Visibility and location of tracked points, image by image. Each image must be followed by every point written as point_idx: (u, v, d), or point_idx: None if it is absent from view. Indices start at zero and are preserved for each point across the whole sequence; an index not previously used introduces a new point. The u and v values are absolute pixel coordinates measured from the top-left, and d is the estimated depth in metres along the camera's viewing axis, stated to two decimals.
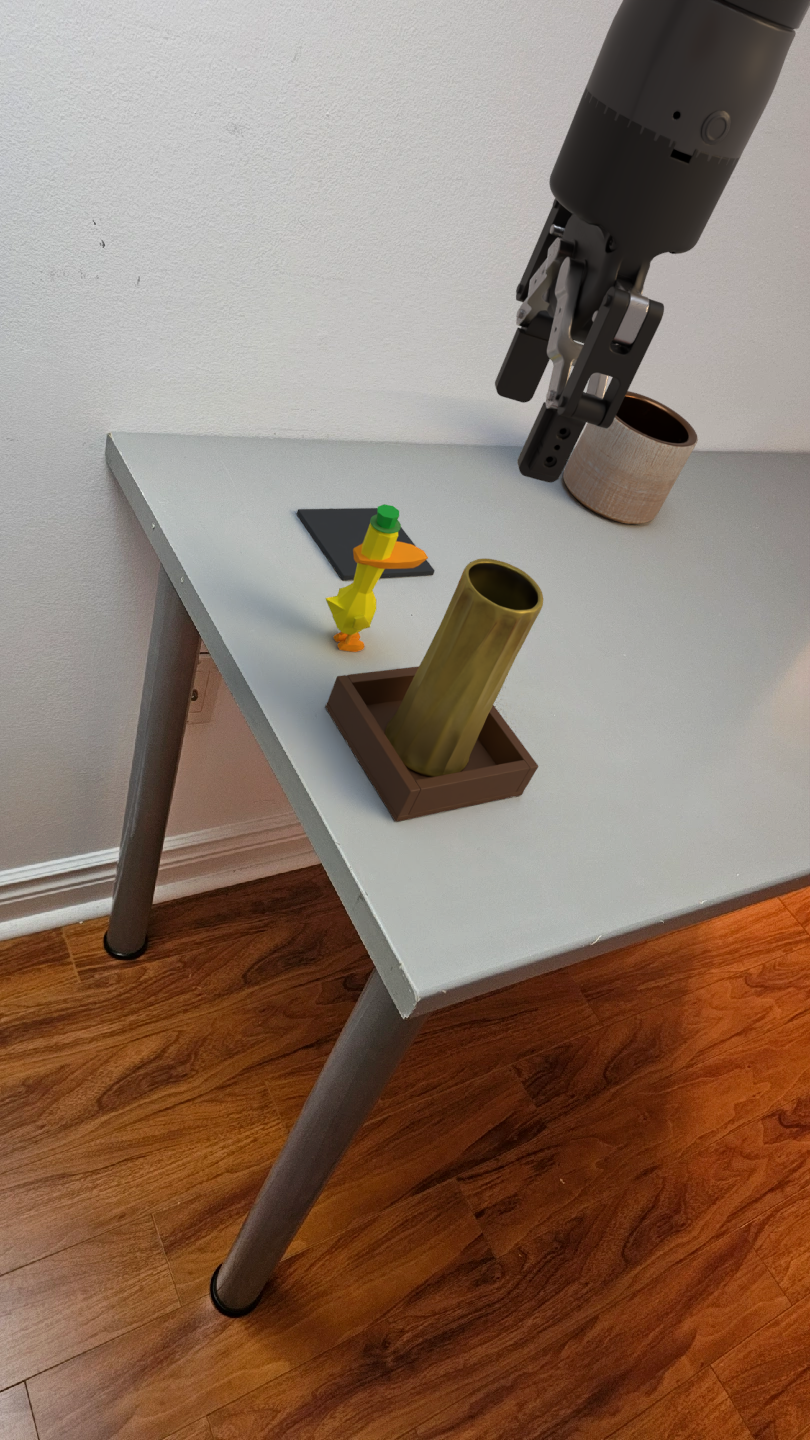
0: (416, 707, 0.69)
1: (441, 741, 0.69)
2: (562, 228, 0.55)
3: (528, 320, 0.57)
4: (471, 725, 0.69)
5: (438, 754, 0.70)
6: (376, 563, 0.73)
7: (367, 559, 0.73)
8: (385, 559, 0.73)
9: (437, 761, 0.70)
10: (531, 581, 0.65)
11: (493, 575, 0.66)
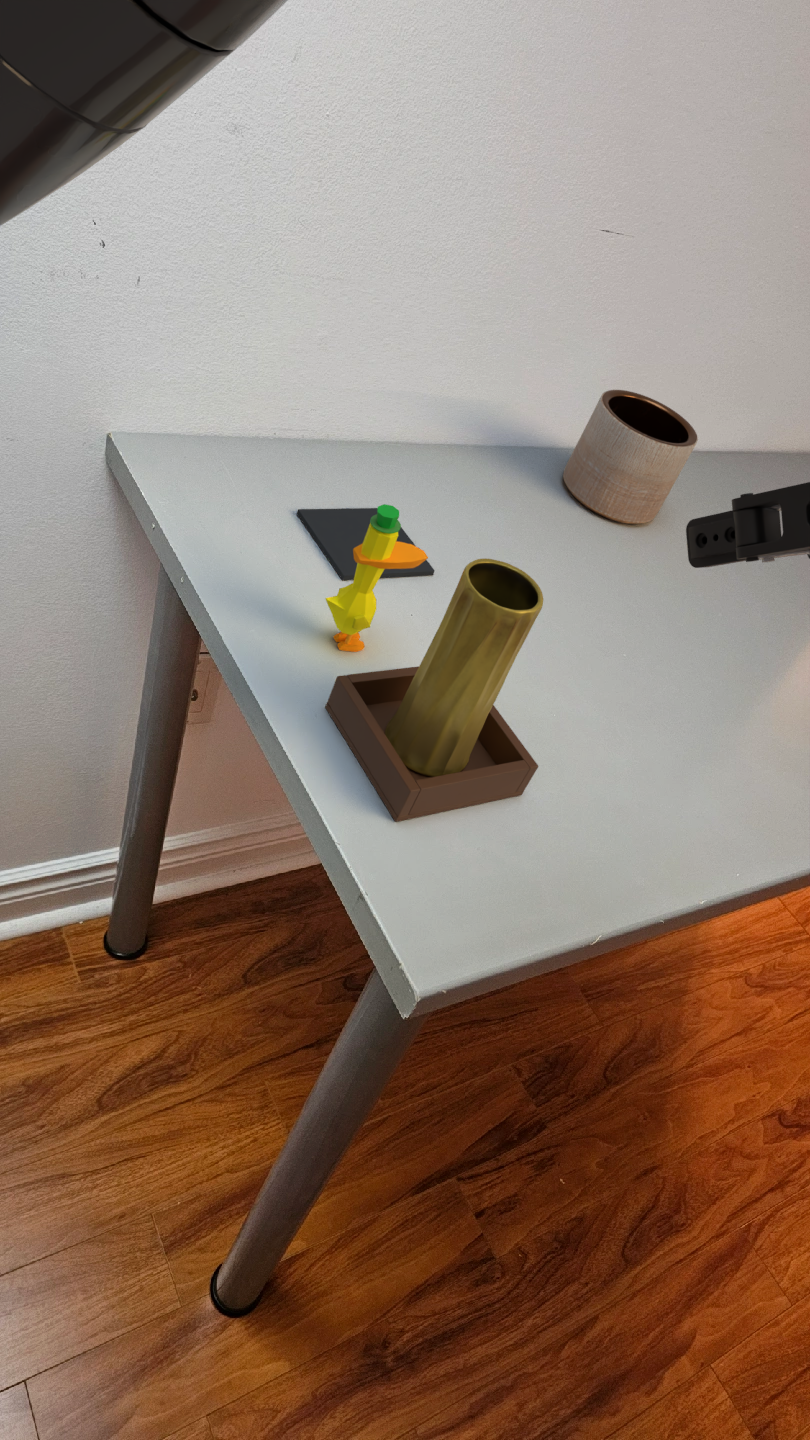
0: (416, 707, 0.69)
1: (441, 741, 0.69)
2: None
3: None
4: (471, 725, 0.69)
5: (438, 754, 0.70)
6: (376, 563, 0.73)
7: (367, 559, 0.73)
8: (385, 559, 0.73)
9: (437, 761, 0.70)
10: (531, 581, 0.65)
11: (493, 575, 0.66)
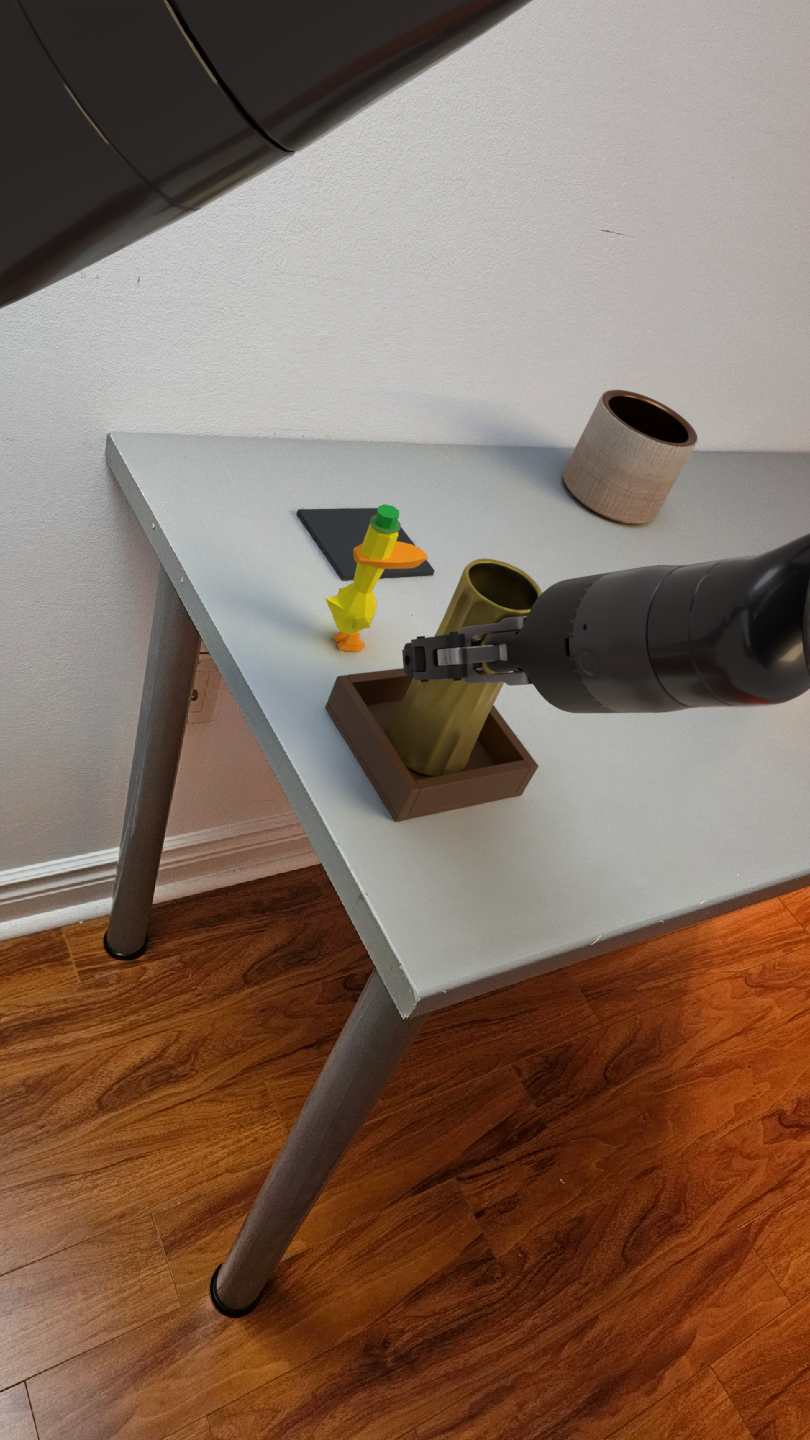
0: (416, 707, 0.69)
1: (441, 741, 0.69)
2: None
3: None
4: (471, 725, 0.69)
5: (438, 754, 0.70)
6: (376, 563, 0.73)
7: (367, 559, 0.73)
8: (385, 559, 0.73)
9: (437, 761, 0.70)
10: (531, 581, 0.65)
11: (493, 575, 0.66)
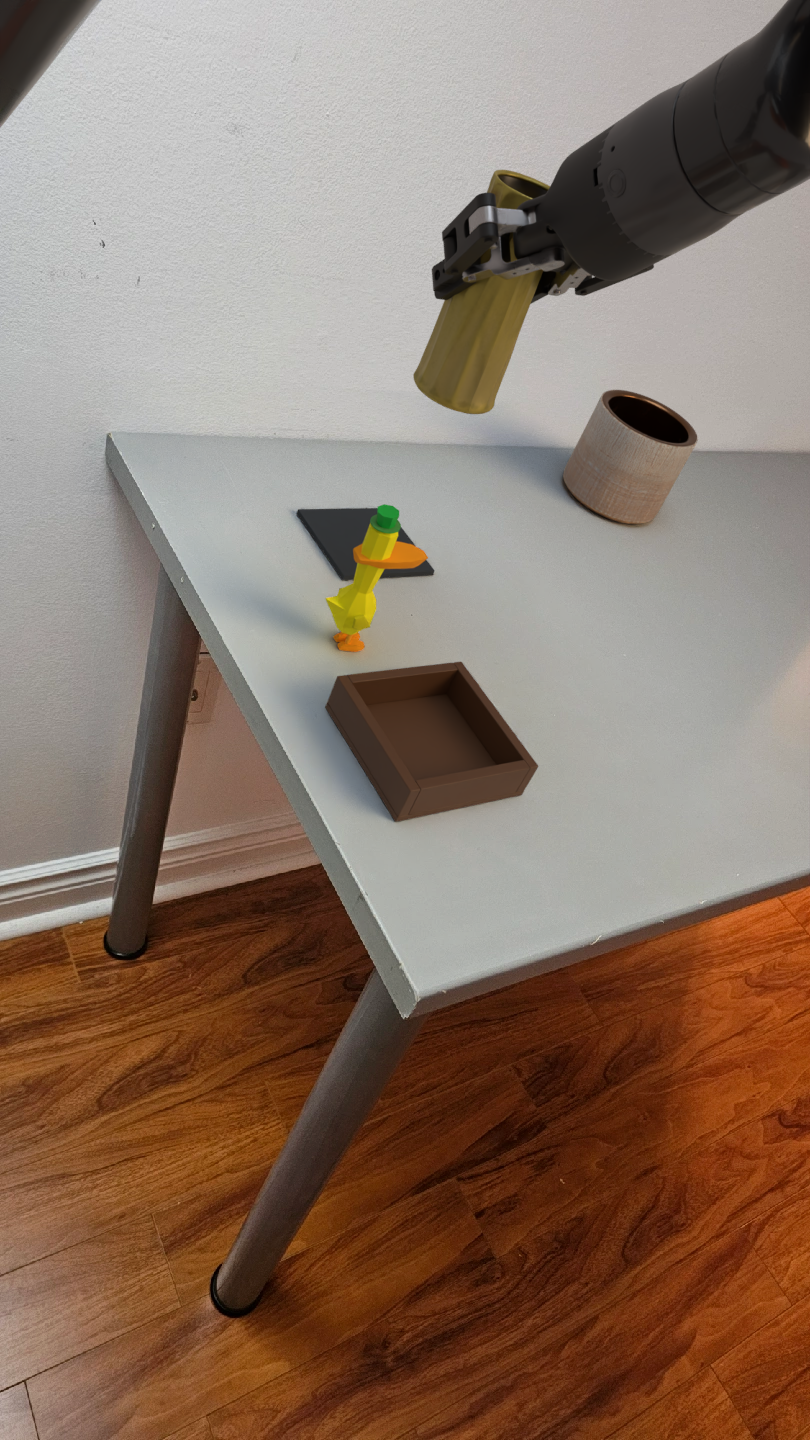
0: (445, 333, 0.71)
1: (469, 367, 0.71)
2: None
3: None
4: (498, 350, 0.71)
5: (465, 383, 0.72)
6: (376, 563, 0.73)
7: (367, 559, 0.73)
8: (385, 559, 0.73)
9: (464, 392, 0.72)
10: None
11: (520, 193, 0.69)
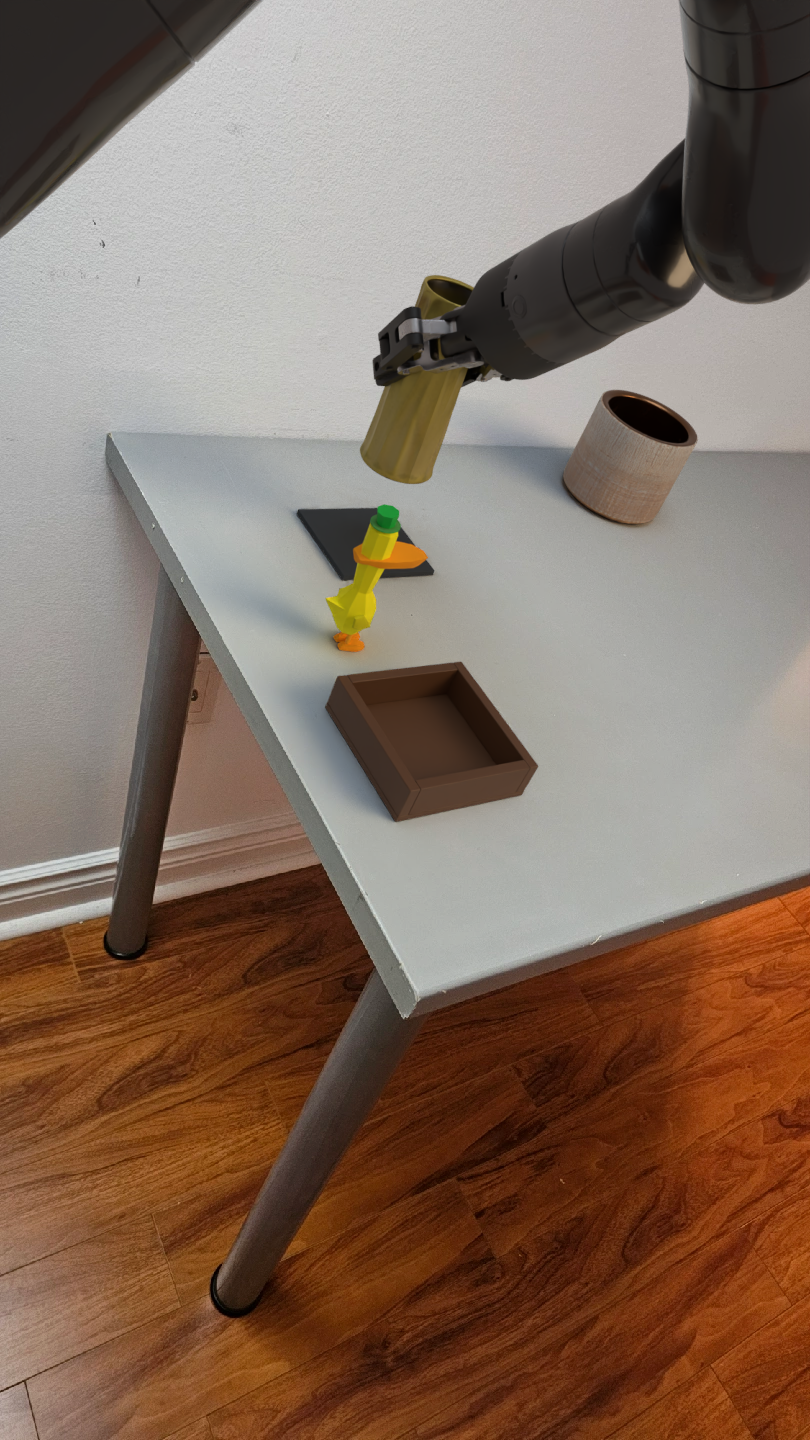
0: (385, 415, 0.80)
1: (407, 444, 0.80)
2: None
3: None
4: (432, 430, 0.80)
5: (404, 458, 0.81)
6: (376, 563, 0.73)
7: (367, 559, 0.73)
8: (385, 559, 0.73)
9: (404, 466, 0.82)
10: None
11: (449, 293, 0.78)
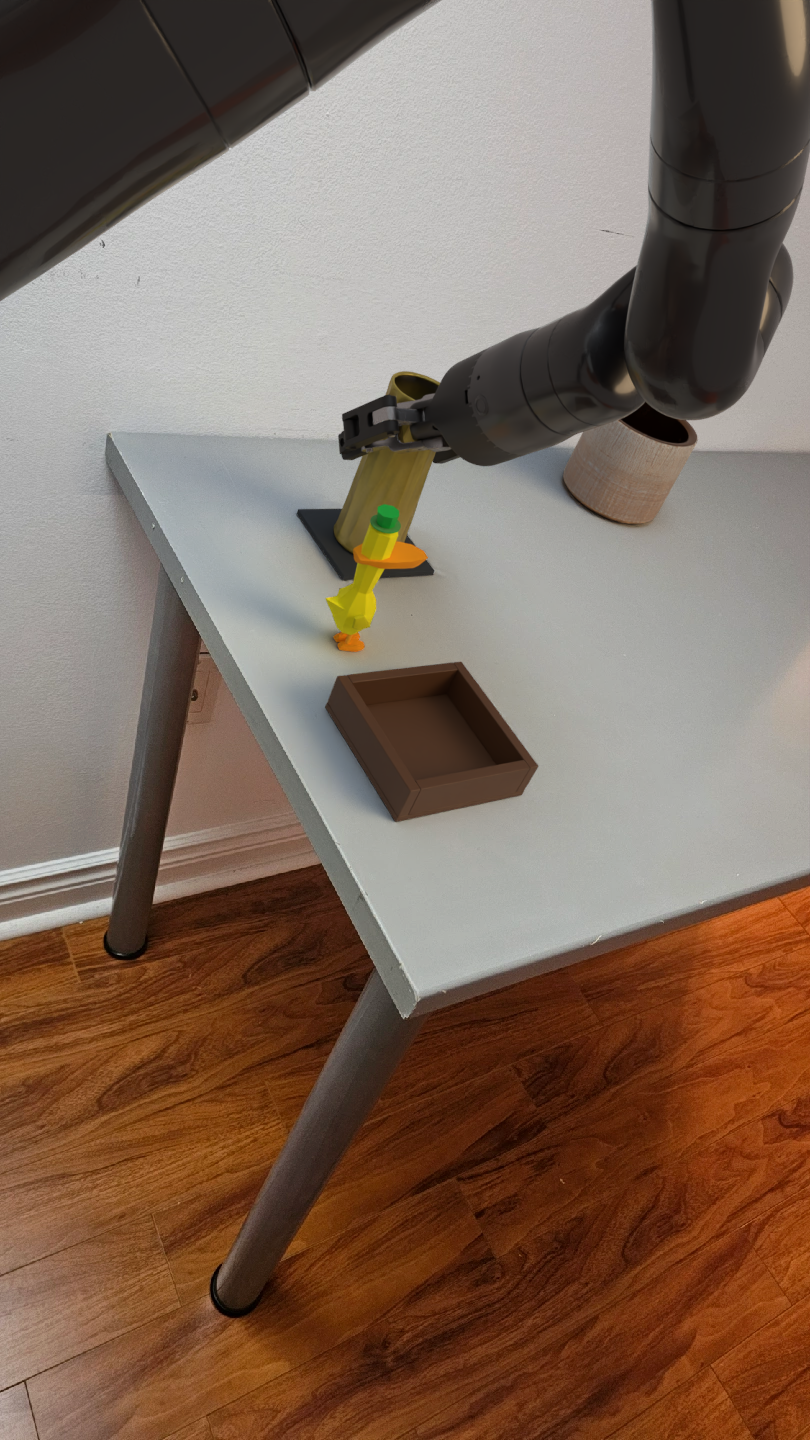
0: (357, 499, 0.85)
1: None
2: None
3: None
4: (401, 513, 0.85)
5: None
6: (376, 563, 0.73)
7: (367, 559, 0.73)
8: (385, 559, 0.73)
9: None
10: None
11: (416, 387, 0.83)
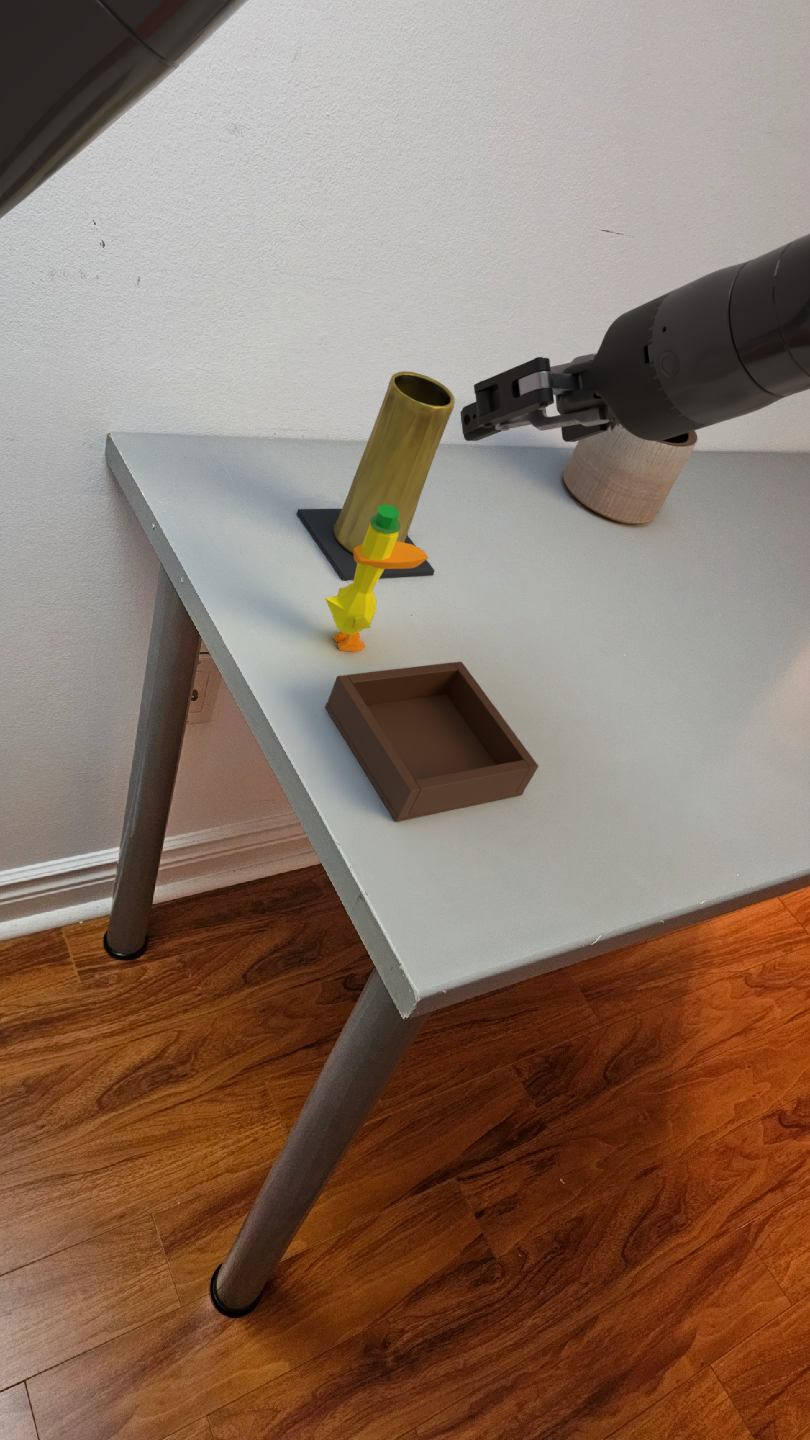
0: (357, 499, 0.85)
1: None
2: None
3: None
4: (401, 513, 0.85)
5: None
6: (376, 563, 0.73)
7: (367, 559, 0.73)
8: (385, 559, 0.73)
9: None
10: (445, 389, 0.82)
11: (416, 387, 0.83)
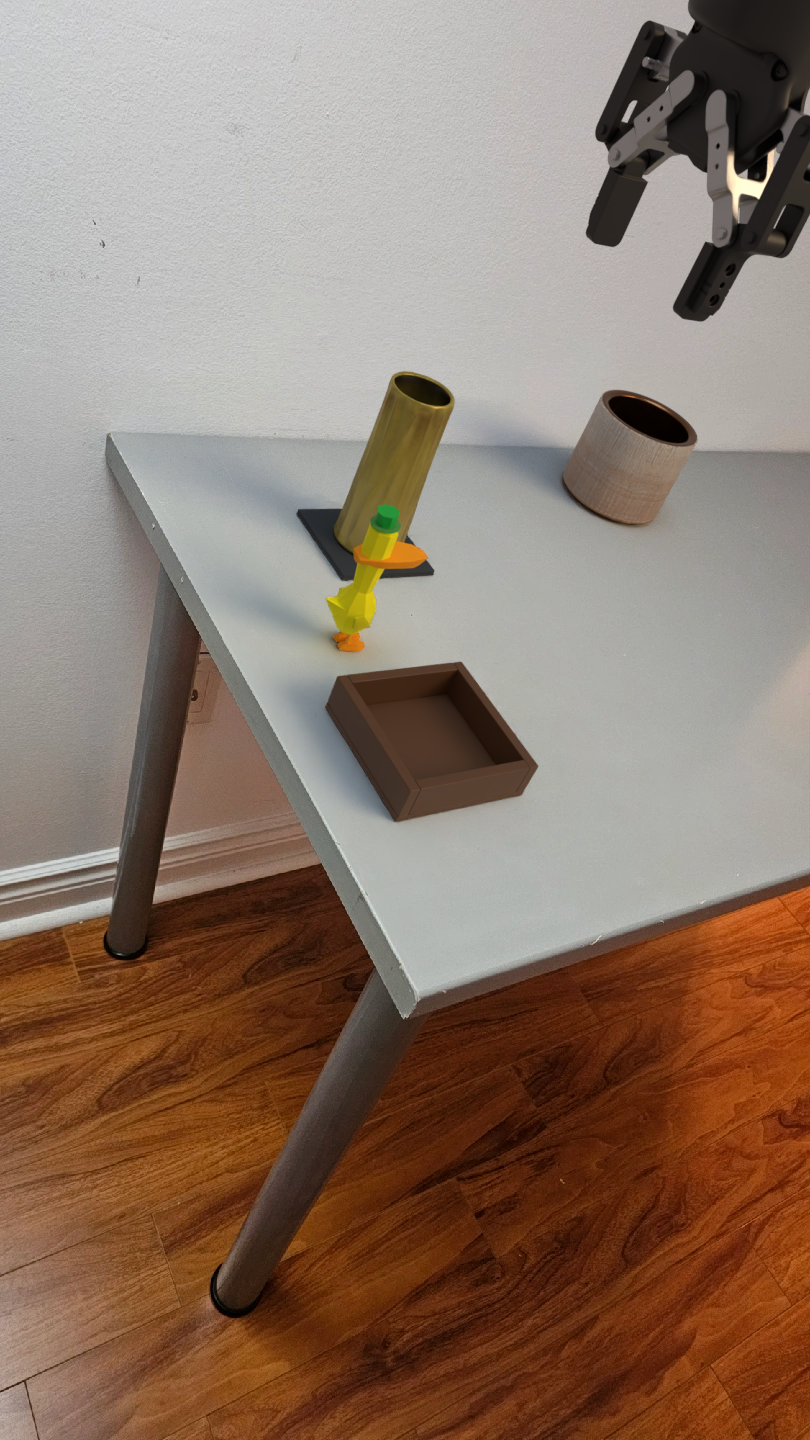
0: (357, 499, 0.85)
1: None
2: (655, 60, 0.55)
3: (628, 161, 0.57)
4: (401, 513, 0.85)
5: None
6: (376, 563, 0.73)
7: (367, 559, 0.73)
8: (385, 559, 0.73)
9: None
10: (445, 389, 0.82)
11: (416, 387, 0.83)
